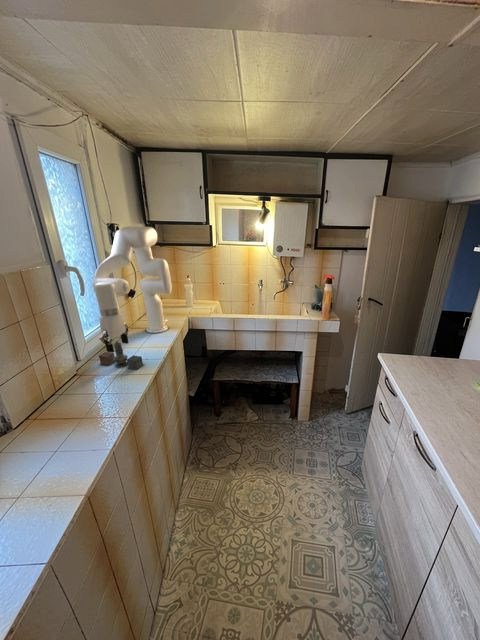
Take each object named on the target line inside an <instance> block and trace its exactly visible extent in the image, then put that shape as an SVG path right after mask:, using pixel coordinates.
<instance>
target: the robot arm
mask: <svg viewBox="0 0 480 640" xmlns="http://www.w3.org/2000/svg"><path fill="white" fill-rule="evenodd" d="M157 242H158V233H157V231H156V229H155V228H154V227H152V226H136V225H135V226H133V225H132V226H131V225H130V226H129V225H128V226H124V227H122V228H120V229H118V230H116V232H115V234H114V238H113V243H112V245H111V246H112V247H111V251H110V255H109V256H108V257H107V258H105V259H104V260H103V261H102V262H101V263H100V264H99V265H98V266H97V268H96V269H95V271H94V275H93V279H92V280H93V281H92V288H93V291H94V293H95V297H96V301H97V304H98V309H99V313H100V316H99V327H100V333H101V334H100V335H99V336H98V339H99V341H101V343H102V344H104V345H105V350H106V352H111V353H114V352H115V347H114V345H113V343H112V342H113V339H116V338H117V337H119V336H120V340H121V344H127V345H128V344H129V342H130V341H129V338H128V335H129V333H128V332H129V326H130V324H129V323H126V322H125V319H124V317H123V314H122V313H121V310H120V305H119V300H118V297H123V296H126V295H127V294H128V293H129V291H130V283H129V281H128V280H127V279H125V278H120V277H118V278H116V277H109V276H110V275H111V274H112V273H114V272H116V271H118V270H121V269H123V268H126V267H127V266H129V265H130V264H131V262H132V257H133V252H134V256H135V259H136V263H137V267H138V271H139V273H140V275H142V276H143V278H142V279H140V280H139V289H140V292H141V294H142V297H143V302H144V308H145V314H146V321H147V325H148V326H147V327H146V328H145V330H146V332H147V333H151V334H159V333H163V332H166V331H167V330H168V329H169V327H168V325H167V324H166V323H168V322H169V320H168V319H167V318H165V316H164V310H163V308H164V307H163V303H162V299H161V298H160V296H159V295H163V296H165V295H170V294H171V293H172V291H173V284H172V279H171V278H172V277H171V273H170V266H169V264H168V262H167V260H165V259H164V258H161V257H160V258H159V257H157V258H155V257H154V256H153V252H152V249H151V247H152V246H154V245H156V244H157ZM144 276H145V277H144Z"/></svg>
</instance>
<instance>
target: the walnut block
mask: <svg viewBox="0 0 480 640" xmlns="http://www.w3.org/2000/svg"><path fill="white" fill-rule="evenodd" d="M115 357H116V355H115V353H114V352H107V351H104V352H102V353H100V354H99V355H98V359H99V362H100V365H104V366H111V365H112V364H113V363H116V362H115V360H114V358H115Z"/></svg>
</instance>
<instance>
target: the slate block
mask: <svg viewBox="0 0 480 640" xmlns="http://www.w3.org/2000/svg"><path fill="white" fill-rule="evenodd" d="M126 362H127V363H128V365H127V367H128V369H130V370H139V369H140V368H141V367H143V366H144V361H143V357H142V356H141V355H132V356H130V357H129V358H127V361H126Z"/></svg>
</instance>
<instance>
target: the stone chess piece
mask: <svg viewBox="0 0 480 640" xmlns="http://www.w3.org/2000/svg"><path fill="white" fill-rule="evenodd" d="M122 346H123V345H122V342H121V343H120V342H119V341H116V342H115V343H114V345H113V347H114V352H115V354H116V355H115V358H114V360H115V362H114V363H115V367H117V368H124V367H126V366H127V367H128V363H127V359H128V355H127V354H124V348H123V347H122Z"/></svg>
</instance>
